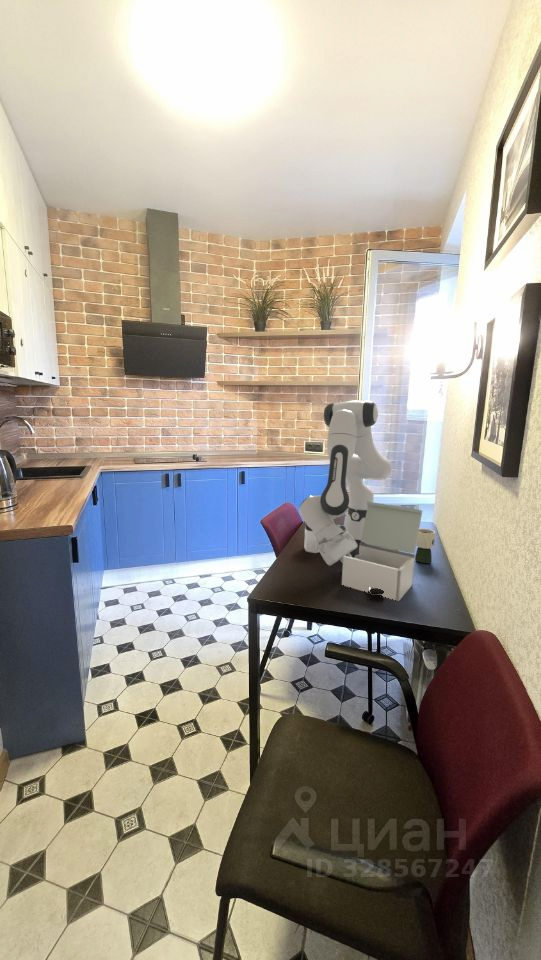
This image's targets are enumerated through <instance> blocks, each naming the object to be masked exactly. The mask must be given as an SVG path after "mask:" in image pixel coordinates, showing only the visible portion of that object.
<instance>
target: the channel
mask: <svg viewBox="0 0 541 960" xmlns="http://www.w3.org/2000/svg"><path fill="white" fill-rule="evenodd" d="M358 548H359V549H358V550H359V551H358V555H360V556H363V557H365V558H368V559H370V560H373V561H375V562H377V563H378V564H377V563H372V562H368V561H364V560H360V559H356V558H355V557H353V556H352V557H348V556H343V563H342V574H341V585H342V586H343V585H344V587H347V588H350V587H351V588H352V589H354V590H358V591H361V592H364V591H365V592H366V593H368V591H369V587H373V588H378V589H381V590H383V591H384V593H383V595H382V596H383V597H382V598H385V597H386V599H388V598H389V600H392V599H393V600H392V601H395V600H396V601H395V602H399V601H400V600H401V599H402V598H403V597H404V595H405V594H406V593H407V592H408V591H409V590H410V588H412V586H413V581H414V570H415V561H416V560H415V556H416V554H414V553H409V552H405V551H400V550H398V551H396V550H391V549H387V548H382V547H377V546H373V545H368V544H365V543H364V542H359V547H358ZM351 588H350V589H351Z"/></svg>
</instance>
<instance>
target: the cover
mask: <svg viewBox="0 0 541 960" xmlns="http://www.w3.org/2000/svg"><path fill="white" fill-rule="evenodd" d="M367 505H368V508H367V513H366V518H365V523H364V528H363V533H362V538H361V540H360V543H364V544H365V543H368V544H373V545H377V546H382V547H386V548H391V549H396V550H398V551H400V552H405V553H409V554H414V555H416V553H415V552H416V550H417V546H416V544H417V538H418V533H419V529H420V526H421V521H422V515H423V510H421V509H416V508H411V507H410V508H409V507H405V506H399V505H398V506H397V505H392V504H385V503H380V502H374V501H373V502H367Z"/></svg>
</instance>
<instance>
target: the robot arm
mask: <svg viewBox="0 0 541 960" xmlns="http://www.w3.org/2000/svg"><path fill="white" fill-rule="evenodd" d="M378 416H379V411H378V407H377V404H376V403H375V402H374V401H372V400H349V401H340V402H332V403H329V404H327V405H326V406H325V407H324V409H323V421H324V422H323V423H324V424H325V425H326V426H327V427H328V431H327V441H326V442H327V443H326V447H327V455H328V457H329V458H328V459H329V469H328V475H327V483H326V486H325V488H324V490H322V493H321V494H319V495H318V494H317V495H309V496H307V497H306V498H305V499H304V500H303V501H302V502H301V503H300V505H299V509H298V511H299V514H300V517H301V518H302V520H303V521H304V522H305V523H306V524H307V526H308V527H309V528H311V529H312V531H313V533H314V535H315V537H316V538H317V539H318V541H319V542H318V548H319V551H320V552H319V554H320V556H321V557H322V559H323V561H324V562H325V563H326V564H327V565H328V566H330V567H331V566H332V565H334V564H335V563H337V562H339V561H340V562H341V563H342V564H343V556H348V557H352V558H353V556H352V554H351V553H352V552H354V551H355V550H357V548H359V547H358V543H357V541H361V538H362V533H363V528H364V523H365V518H366V513H367V508H368V505H367V502H373V503H374V497H375V495H374V491H373V490H372V488H370V487H369V486H368V485H366V484H365V482H364V480H370V481H371V480H372V481H383V480H386V479H387V478H388V477H390V475H391V473H392V464H391V462H390V460H389V459H388V458H387V457H385V456H384V455H382V453H380V452H379V450H378V449H377V448H376V445H375V443H374V440H373V435H372V426H374V425H375V424H376V423H377V420H378ZM346 486H347V487H348V490H347V488H346ZM346 513H347V514H346ZM345 514H346V515H345ZM344 515H345V516H344ZM343 516H344V522H343V525H342V524H336V523H335V521H334V520H335V519H338V518H340V517H343ZM356 540H357V541H356ZM319 544H320V545H319Z"/></svg>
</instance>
